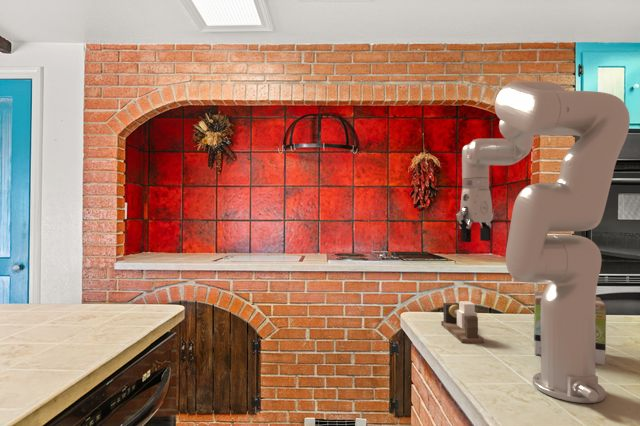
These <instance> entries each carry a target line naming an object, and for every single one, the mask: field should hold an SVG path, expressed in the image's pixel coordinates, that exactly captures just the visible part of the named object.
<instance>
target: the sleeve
mask: <svg viewBox="0 0 640 426" xmlns="http://www.w3.org/2000/svg"><path fill="white" fill-rule="evenodd" d="M458 304H459V310H457V325H458V326H459V327H460V328H462V329H465V316H476V317H478V312H476V310H475V309H476V307H475V303H473V302H472V301H470V300H461V301H458Z"/></svg>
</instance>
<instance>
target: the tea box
mask: <svg viewBox="0 0 640 426" xmlns="http://www.w3.org/2000/svg"><path fill="white" fill-rule="evenodd" d="M543 293H544V291H534V302H533V303H534V313H533V316H534V317H533V319H534V320H533V345H534V355H538V356H541V299H542V295H543ZM606 328H607V305H606V304H605V303H604V301H603V300H602V298H600V297H599V296H596V303H595V355H596V365H600V364H601V365H600V366H604V365H606V364H605V363H606V350H607V349H606V348H607V346H606V345H607V343H606V341H607V339H606V338H607V337H606V335H607V334H606V333H607V332H606V330H607V329H606Z"/></svg>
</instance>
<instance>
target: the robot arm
mask: <svg viewBox="0 0 640 426" xmlns="http://www.w3.org/2000/svg"><path fill="white" fill-rule="evenodd" d="M494 111H495V114H496V116H497V118H499V124H498V129H499V132H500V134H501V135H502V137H503V138H476V139H472V141H470V143H468V144H465V145H464V146H463V147H462V149H461V165H462V166H461V170H462V171H461V177H462V179H461V180H462V184H461V185H462V188H461V198H460V199H461V200H460V210H459V211H458V212H457V213H456V215H455V216H456V220H457V224H458V225H459V226H458V227H459V229H460V242H462V243H472V228H471V227H472V224H473V223H479V224H480V229H479V230H480V232H479V233H480V235H479V240H480V241H482V242H490V241H492V240H491V238H492V237H491V235H492V233H491V232H492V231H491V229H492V227H493V222H494V221H493V220H494V217H495V214H494V213H493V203H492V202H493V201H492V194H491V190H490V173H489V172H490V169H489V167H490V166H511V165H515V164H516V163H519V162H520V161H521V160H522V159H524V158H525V157H526V156H528V155H529V154H530V153H531V150H532V149H533V148H532V147H533V145H534V142H535V138H534V137H535V136H562V137H563V136H576V137H577V136H579V139H578V140H576V141H575V142H574V144H572V145H571V146H570V147H569V149H568V150H567V152H566V153H565V154H564V156H563V157H562V158H563V159H562V160H561V164H560V170H559V174H558V178H557V180H556V181H555V182H540V183H539V182H537V183H532V184H529V185H527V186H525V187H524V188H523V189H521V191H520V192H519V193H518V195H517V196H516V199H515V201H514V204H513V208H512V212H511V213H512V214H511V220H510V225H509V226H510V227H509V232H508V237H507V241H506V243H507V244H506V250H505V265H506V268H507V272H508V273H509V275H510V276H511V277H512V278H513V279H514V280H515V281H518V282H521V283H533V284H534V283H536V284H537V283H548V284H547V285H546V287H545V289H544V291H543V292H544V293H543V295H542V299H541V355H540V372H538V373H535V374H534V375H533V376H532V385H533V387H535V388H536V389H537V390H538V391H540V392H541V393H544V394H545V395H548V396H550V397H552V398H555V399H560V400H563V401H567V402H572V403H579V404H593V403H599V402H602V401H603V400H605V398H606V390H605V388H604V387H603V386H602V385H600V384H599V377H598V376H597V375H596V372H597V371H596V365H597V364H596V355H595V303H596V297H597V288H598V287H597V286H598V282H599V277H600V273H601V268H602V262H603V261H602V253H601V251H600V249H599V247H598V246H597V244H596V243H595V242H594V241H593V240H591V239H589V238H588V237H584V236H583V235H582V236H581V235H578V234H577V235H576V234H575V235H574V234H548V233H551V232H552V233H554V232H562V233H564V232H565V233H566V232H584V231H585V232H586V231H589V230H593V229H595V228H596V227H597V226H599V225H600V223H601V221H602V219H603V216H604V213H605V210H606V209H605V208H606V205H607V201H608V197H609V192H610V188H611V184H612V180H613V177H614V170H615V167H616V163H617V161H618V159H619V155H620V153H621V151H622V149H623V146H624V144H625V142H626V139H627V136H628V134H629V130H630V124H631V123H630V122H631V121H630V118H631V117H630V112H629V109H628V107H627V105H626V103H625V102H624V101H623V100H622V99H621V98H619V97H618V96H616V95H614V94H612V93H609V92H601V91H594V90H593V91H592V90H590V91H589V90H566V89H565V87H564V86H562V85H560V84H558V83H555V82H551V81H527V80H526V81H522V80H521V81H520V80H519V81H517V80H515V81H511V82H509V83H507V84H505V85H504V86H503V87H502V88H501V89H500V90H499V92H498V93H497V96H496V98H495V102H494Z"/></svg>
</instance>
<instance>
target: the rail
mask: <svg viewBox="0 0 640 426" xmlns="http://www.w3.org/2000/svg"><path fill="white" fill-rule="evenodd" d="M442 305H443V306H442V307H443V320H441V327H443V328H444V329H446V330H447V331H448V332H449V333H450V334H451V335H452V336H453V337H454V338H456V339H457V340H458V341H459V342H461V344H475V343H476V344H482V343H483V344H484V343H485V341H484V340H485V339H484V337H482V336H481V335H480V334H479V317H478V316H477V317H476V316H465V329H462V328H460V327H459V326H458V325H457V310H459V302H443V304H442Z"/></svg>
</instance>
